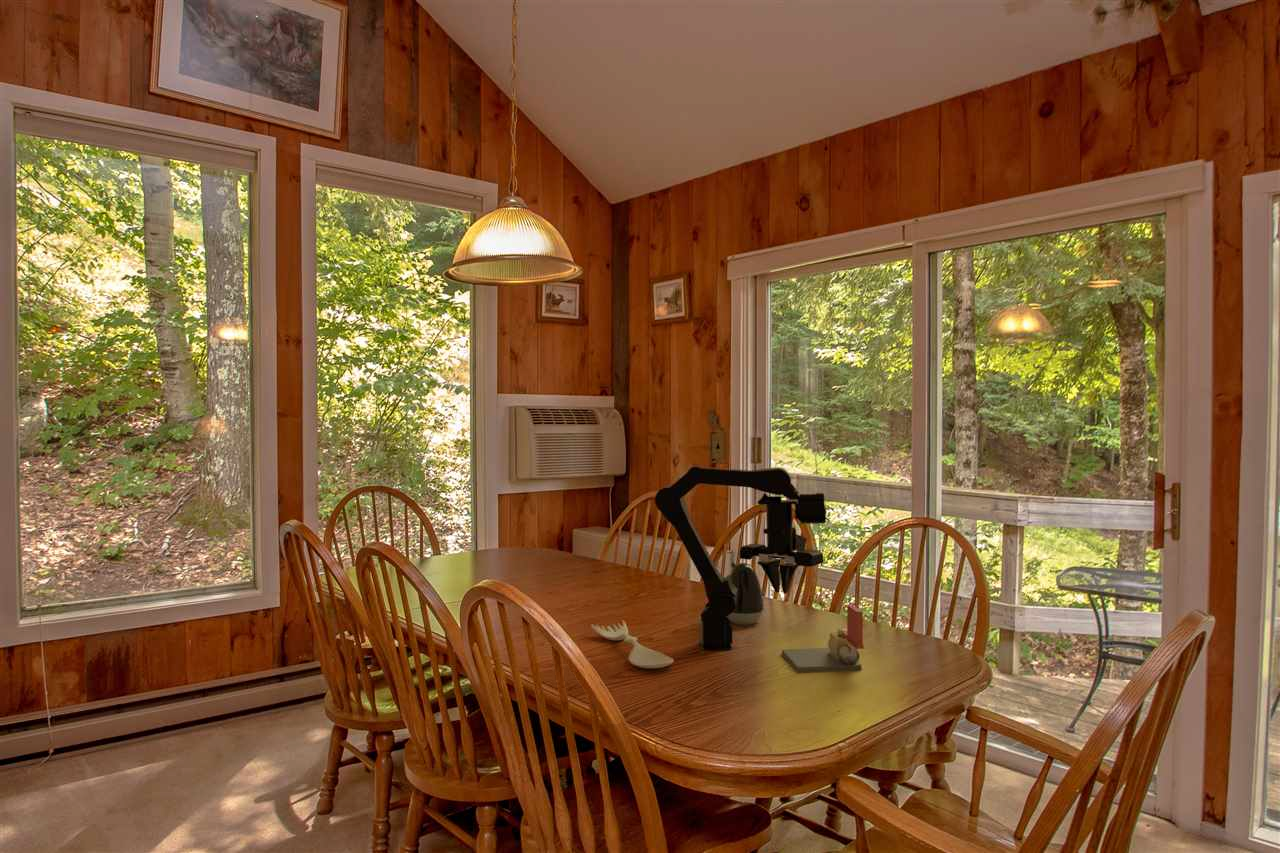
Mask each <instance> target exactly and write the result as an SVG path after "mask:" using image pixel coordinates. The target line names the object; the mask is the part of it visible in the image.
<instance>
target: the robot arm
mask: <svg viewBox="0 0 1280 853" xmlns="http://www.w3.org/2000/svg"><path fill="white" fill-rule="evenodd" d="M700 484H702V485H713V486H715V485H716V486H725V487H728V486H729V487H740V488H751V489H753V490H756V491H760V492H764V493H763V495H762V496H761V497H760V498H759V499H758V500H757V505H765V515H766V520H765V521H766V528H763V534H765V535H766V545H765V544H760V543H750V544H745V545H742V546H741V548H739V550H738V551H739V559H740V560H741V559H742V560H747V561H748V560H752V559H753V558H754V557H759V560H758V561H757V565H759V566H760V567H762V569H763V571H764V573H765V574H766V576H767V578H768V580H769V582H770V583H771V586H772V588H773V590H774V592H775V593H780V587H781V588H782V593H783V594H784V595H786V594H787V593H788V591H789V588H790V585H791V582H792V580H793V576H794V574H795V571H796V570H797V569H798V567H815V566H817V565H821V564H823V563H824V555H823V553H822V552H821V550H820V549H819V550H818V549H808V548H806V547H807V539H808V538H807V537H804V536H803V535H801V534H797V528H796V527H794V526H793V505H794V518H795V520H798V521H800V525H802V524H804V525H805V524H807V525H808V524H809V525H810V524H812V525H813V524H814V525H819V524H823V525H825V524H826V523H827V509H826V506H825V505H826V504H825V494H824V492H816V493H800V492H799V490H798V489H797V488H796V487H795V486H794V484H793V483H792V477H791V475H790V473H789V472H788V471H787V469H785V468H783V467H769V468H761V469H753V470H749V469H747V470H746V469H734V468H733V469H732V468H721V467H719V468H718V467H710V466H709V467H708V466H707V467H706V466H701V465H694V466H692V467H690V468H689V469H688V470H687V472H686V473H685V474H683V475H682V476H681V477H680V478H679V479H678V480H677V481H675V482H674V483H673V484H672V485H671V484H669V485H666V486H664V487H663V488H661V489H659V490H658V491H657V492H656V494H655V496H654V504H655V507H656V508H657V509H658V510H659V512H660V513H661V515H663V517H664V518H665V519H666V520H667V522H668V523H669V524H671V525H672V526H673V528H674V529H675V531H676V532H677V534H678V537H679V538H680V540H681V542H682V545H683V546H684V548H685V549H686V552H687V554H688V555H689V557H690V559H691V561H692V563H693V564H694V567H695V568H696V570H697V572H698V574H699V575H700V578H701V579H702V582H703V586H704V589H705V593H706V597H707V600H708V601H707V603H706V604H704V607H703V608H702V610H701V613H700V639H699V644H700V646H701V647H702V650H705V651H709V650H711V651H712V650H715V651H716V650H717V651H718V650H731V649H733V647H732V645H733V626H732V624H731V621H730V620H729V618H728V617H727V616H728V615H730V614H731V613H732V612H733V611H734V609H735V606H736V603H737V591H738V589H737V588H736V587H735V586H734V585H733V583H732V580H731V577H730V574H727V576H724V575H723V574H722V573H721V572H720V571H719V570H718V568H717V566H716V564H715V563H714V561H713V559H712V557H711V555H710V553H709V552H708V550H707V548H706V546H705V544H704V541H703V539H701V537H700V535H699V533H698V531H697V529H696V527H695V525H694V523H693V521H692V519H691V517H690V513H689V510H688V506H687V505H688V504H687V502H686V500H685V496H686V495H687V494H688V493H689V492H690V491H691V490H693V489H694V488H695V487H696V486H697V485H700ZM767 493H768V494H771V495H772V496H769V495H768V494H767ZM773 495H774V496H773ZM780 495H781V496H780ZM782 496H783V497H785V498H786V499H788V500H786V499H785V500H784V499H782ZM782 560H784V563H781V562H782ZM780 581H781V582H780ZM780 583H781V585H780Z"/></svg>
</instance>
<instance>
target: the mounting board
mask: <svg viewBox="0 0 1280 853" xmlns="http://www.w3.org/2000/svg"><path fill="white" fill-rule="evenodd" d="M781 655H782V657H783V658H785V659H786V660H787V661H788V662H789V664H790V665H791V666H792V667H793V668H794V670H796V672H797V673H809V672H810V671H815V672H833V671H835V672H836V671H860V670H862V664H861V663H860V662H859V661H858V662H857V663H856V664H854V665H847V664H846V663H845V662H836V661H835V660H834V659H833V658H832V657H831V656H830V649H829V647H815V648H792V649H789V648H786V649H781Z"/></svg>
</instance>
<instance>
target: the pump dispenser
mask: <svg viewBox="0 0 1280 853" xmlns="http://www.w3.org/2000/svg"><path fill="white" fill-rule="evenodd" d="M730 566H731V567H732V570H731V572H730V574H729V575H730V577H731V580H732V583H733V585H734V586H735V587H736V588H737V589H738V591H737V603H736V606H735V609H734V611H733V612H732V613H731V614H730V615H728V616H727V617H728V618H729V620H730V623H733V624H735V625H739V626H740V625H741V626H750V625H753V624H755V623H757V622H758V621H759V620H760V619H761V617H762V613H763V611H764V609H765V607H764V606H765V604H764V598H763V591H762V587H761V584H760V580H759V577H758V574H757V573H756V571H755V569H754V568H753V567H752V566H751V564H749V563H746V562H740V563H737V564H736V563H735V562H732V563H731V564H730Z"/></svg>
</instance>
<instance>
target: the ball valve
mask: <svg viewBox="0 0 1280 853" xmlns="http://www.w3.org/2000/svg"><path fill="white" fill-rule="evenodd" d="M827 646H828V647H827V648H829V649H830V656H831V657H832V658H833V659H834V660H835V661H836V662H845V663H846V664H847V665H854V664H856V663H857V662H859V660H860V657H861V656H860V653H859V651H858V649H856V648H855V647H854V646H853V645H852V644H851V643H849V642H848V641H847V639H845V638H844V637H843V636H839V635H838V631H837V632H835V631H834V632H833V631H832V632H829V640H828V643H827Z"/></svg>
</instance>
